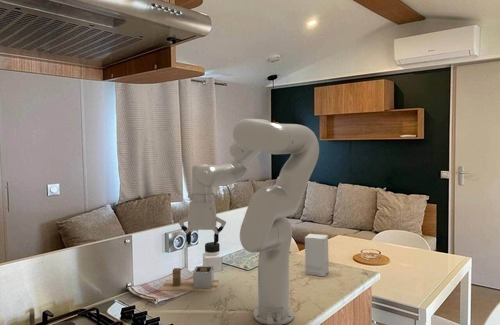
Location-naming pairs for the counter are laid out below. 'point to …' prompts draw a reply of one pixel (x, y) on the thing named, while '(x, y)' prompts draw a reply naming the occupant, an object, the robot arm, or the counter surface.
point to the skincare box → (316, 254)
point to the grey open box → (203, 278)
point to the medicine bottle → (212, 256)
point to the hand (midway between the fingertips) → (202, 243)
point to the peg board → (184, 283)
